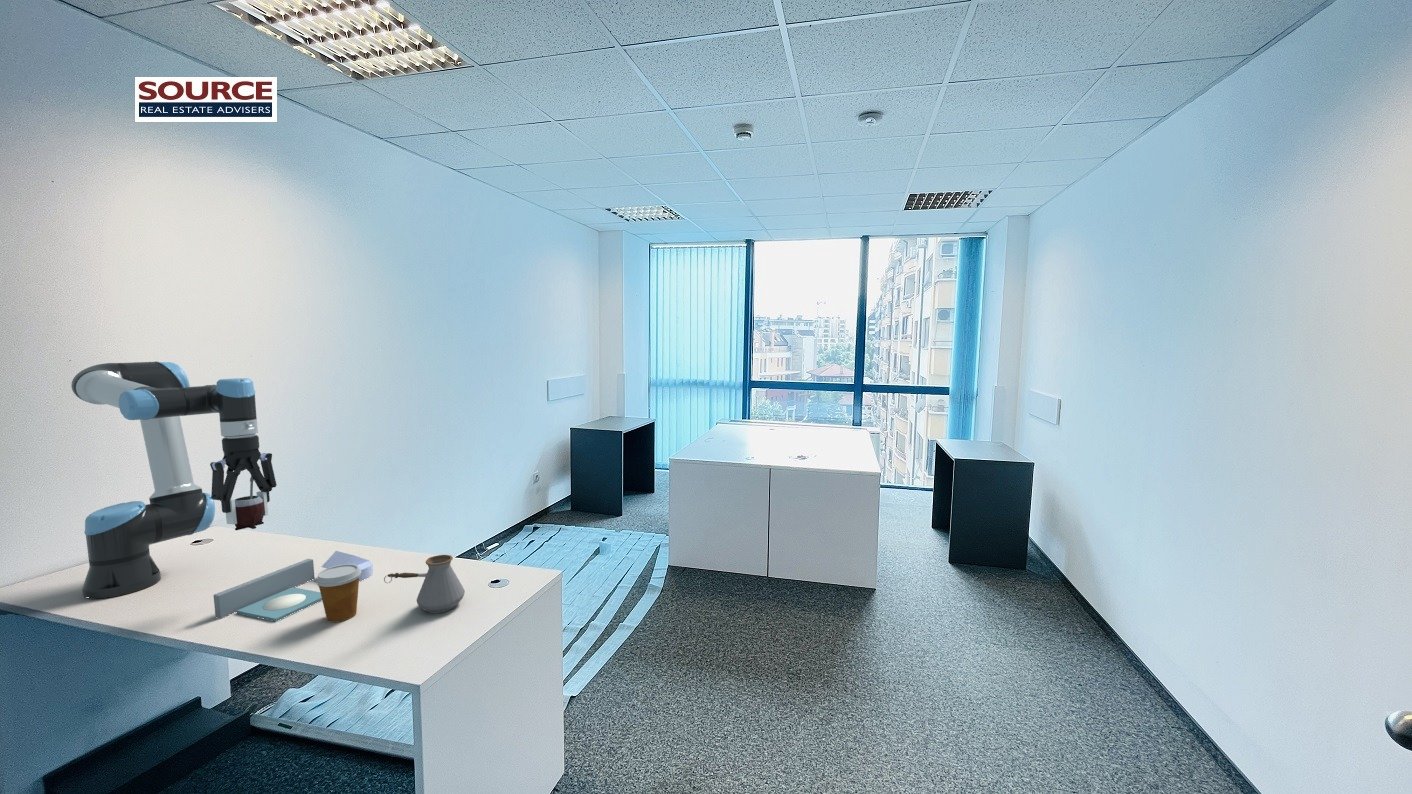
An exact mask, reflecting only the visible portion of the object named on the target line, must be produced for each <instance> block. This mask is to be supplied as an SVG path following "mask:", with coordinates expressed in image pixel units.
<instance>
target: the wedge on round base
mask: <svg viewBox="0 0 1412 794" xmlns="http://www.w3.org/2000/svg"><path fill="white" fill-rule="evenodd" d="M344 564H355V565H358V566H359V569H360V570H361V574H360V577H359V581H360V582H363V581H365V580H364V579H366V580H368V579H370V578H371V577H372V576H373V575H372V574H374V568H373V562H372V561H371V560H370V559H369V560H368V559H366V558H362V557H360V556H356V555H354V554H351V553H347V552H346V553H345V552H343V551H339V550H335V551H334V552H333V554H331V556H330V557H329V558H328V559H327V560H326V561H325V562H324V563H323V564H322V566H321V568H323V569H327V568H330V567H333V566H338V565H344ZM370 576H371V577H370ZM369 577H370V578H369ZM367 578H368V579H367ZM362 580H363V581H362Z"/></svg>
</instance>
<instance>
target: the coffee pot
mask: <svg viewBox="0 0 1412 794" xmlns="http://www.w3.org/2000/svg"><path fill="white" fill-rule="evenodd" d="M452 561H453V555H450V554H438V555H434V556H430V557H428V558H427V559H426V560H425V564H426V565H427V567H428V569H427V572H426V573H425V572H424V573H416V572H401V573H398V572H395V573H389V574H386V575H385V576H384V578H383V581H384V583H385V584H390V583H391V582H392V581H393V578H394V579H398V578H401V579H408V578H411V579H412V578H424V580H423V582H422V585H421V587H420V590H419V593H418V595H417V598H416V602H417V605H418V607H419V608H420V609H423V610H424V611H426V612H427V613H431V614H438V613H439V614H440V613H444V612H447V611H451V610H452V609H454V608H455V607H457V605H458V604H459V603H460V602H461V601H462V600H463V598H464V595H465V593H466V591H465V589H464V586H463V585H462V583H461V581H460V579H459V577H458V576H457V574H456V573H455V571H454V569H453V567H452V565H451V563H452ZM387 577H389V578H390V581H389V582H387V581H386V578H387Z"/></svg>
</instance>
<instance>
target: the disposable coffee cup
mask: <svg viewBox="0 0 1412 794" xmlns="http://www.w3.org/2000/svg"><path fill="white" fill-rule="evenodd" d="M360 574H361V570H360V569H359V566H358V565H355V564H344V565H338V566H333V567H330V568H327V569H326V568H324V569H323V570H321V571H319V572H318V574H317V576H316V577H317V578H316V579H315V582H316V584H317V586H318V587H319V592H321V597H322V601H321V602H322V606H323V609H324V613H325V617H326V618H325V619H326V621H327V622H329V623H339V622H340V623H341V622H344V621H347V620H350V619H352V618H353V617H355V616H356V615H357V611H358V610H357V609H358V597H359V595H358V594H359V584H360V582H359V577H360Z"/></svg>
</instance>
